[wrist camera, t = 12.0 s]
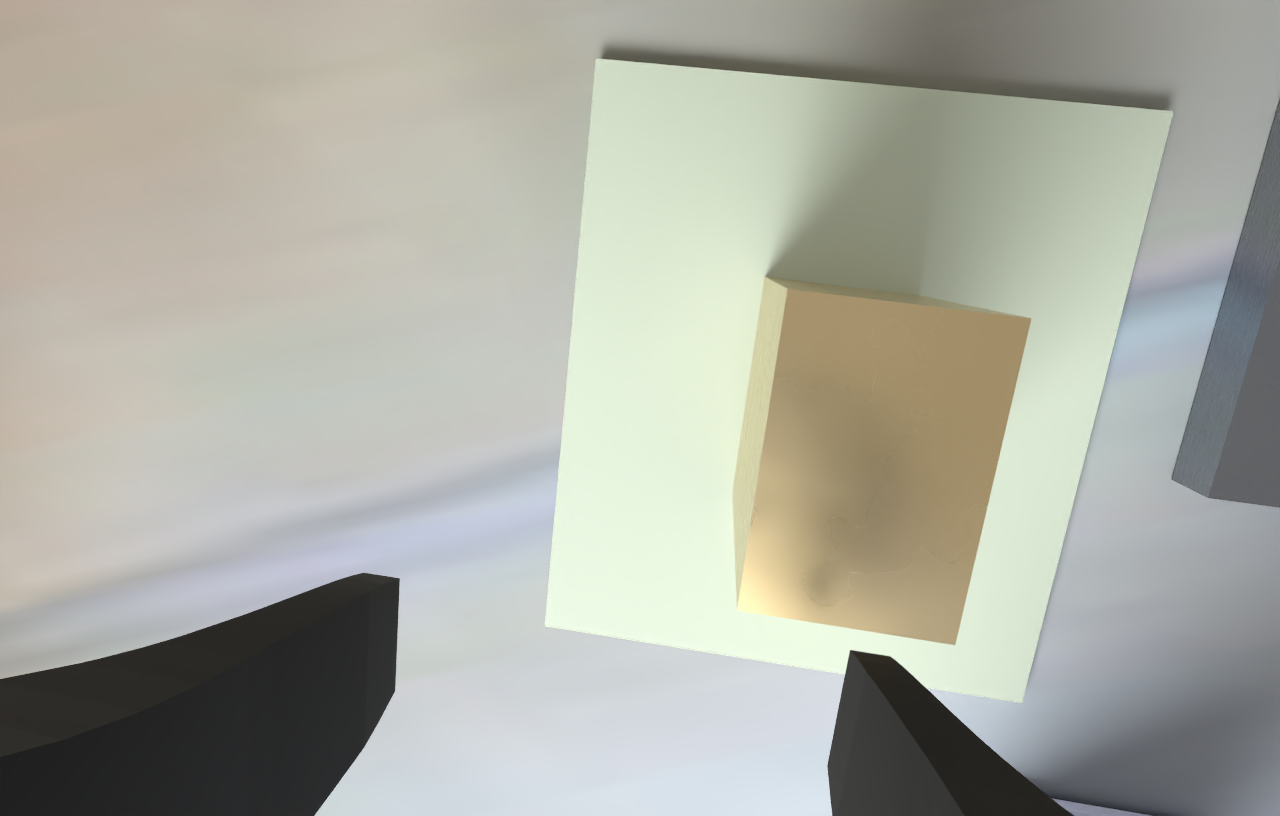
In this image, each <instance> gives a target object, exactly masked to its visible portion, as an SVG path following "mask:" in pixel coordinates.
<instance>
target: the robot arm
mask: <svg viewBox="0 0 1280 816" xmlns="http://www.w3.org/2000/svg"><path fill="white" fill-rule="evenodd" d="M399 580H400V579H399V578H393V577H387V576H380V575H374V574H368V573H361V574H357V575H353V576H350V577H346V578H343V579H340V580H337V581H334V582H331V583H329V584H326V585H323V586H320V587H318V588H315V589H312V590H310V591H307V592H304V593H302V594H299V595H296V596H294V597H291V598H288V599H286V600H283V601H280V602H278V603H275V604H272V605H270V606H267V607H264V608H262V609H259V610H256V611H254V612H251V613H248V614H245V615H242V616H239V617H236V618H233V619H231V620H228V621H225V622H222V623H219V624H216V625H213V626H210V627H207V628H204V629H201V630H198V631H195V632H192V633H189V634H186V635H183V636H180V637H177V638H174V639H170V640H167V641H164V642H160V643H157V644H153V645H150V646H146V647H143V648H139V649H136V650H132V651H128V652H124V653H120V654H116V655H112V656H108V657H105V658H101V659H97V660H92V661H88V662H84V663H79V664H74V665H69V666H64V667H59V668H54V669H49V670H44V671H39V672H34V673H29V674H24V675H19V676H14V677H9V678H4V679H0V816H314V815H315V814H316V812H317V811H318V810H319V808H320V807H321V806H322V804H323V803H324V802H325V800H326V799H327V798H328V796H329V795H330V794H331V792H332V791H333V789H334V788H335V787H336V785H337V784H338V783H339V781H340V780H341V778H342V777H343V776H344V774H345V773H346V772H347V770H348V769H349V767H350V766H351V765H352V763H353V762H354V761H355V759H356V758H357V756H358V755H359V754H360V752H361V751H362V749H363V748H364V746H365V745H366V743H367V741H368V740H369V738H370V736H371V734H372V733H373V731H374V729H375V727H376V726H377V724H378V722H379V720H380V718H381V716H382V715H383V713H384V711H385V709H386V707H387V705H388V703H389V701H390V699H391V697H392V696H393V694H394V692H395V678H396V653H397V629H398V605H399ZM828 775H829V786H830V797H831V806H832V815H833V816H1151V815H1145V814H1139V813H1134V812H1128V811H1122V810H1116V809H1110V808H1105V807H1099V806H1093V805H1087V804H1081V803H1075V802H1070V801H1064V800H1058V799H1052V798H1050V797H1049V796H1048V795H1046V794H1045V793H1044V792H1042V791H1041V790H1040V789H1039V788H1037V787H1036V786H1035V785H1034V784H1033V783H1031V782H1030V781H1029V780H1028V779H1027V778H1025V777H1024V776H1023V775H1022V774H1021V773H1019V772H1018V771H1017V770H1016V769H1014V768H1013V767H1012V766H1011V765H1010V764H1008V763H1007V762H1006V761H1005V760H1004V759H1002V758H1001V757H1000V756H999V755H998V754H997V753H996V752H994V751H993V750H992V749H991V748H990V747H989V746H988V745H986V744H985V743H984V742H983V741H982V740H981V739H980V738H979V737H978V736H976V735H975V734H974V733H973V732H972V731H971V730H970V729H969V728H968V727H967V726H966V725H964V724H963V723H962V722H961V721H960V720H959V719H958V718H957V717H956V716H955V715H954V714H953V713H952V712H951V711H949V710H948V709H947V708H946V707H945V706H944V705H943V704H942V703H941V702H940V701H939V700H938V699H937V698H936V697H935V696H934V695H933V694H932V693H931V692H929V691H928V690H927V689H926V688H925V687H924V686H923V685H922V684H921V683H920V682H919V681H918V680H917V679H916V678H915V677H914V676H913V675H912V674H911V673H909V672H908V671H907V670H906V669H905V668H904V667H903V666H902V665H901V664H899V663H898V662H897V661H896V660H895V659H893V658H892V657H891V656H885V655H879V654H873V653H867V652H860V651H854V650H850V652H849V658H848V663H847V668H846V673H845V678H844V683H843V689H842V694H841V699H840V704H839V709H838V714H837V719H836V725H835V730H834V735H833V740H832V745H831V750H830V756H829V761H828Z"/></svg>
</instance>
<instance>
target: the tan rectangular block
mask: <svg viewBox="0 0 1280 816" xmlns="http://www.w3.org/2000/svg"><path fill="white" fill-rule="evenodd" d="M1030 323H1031V318H1027V317H1023V316H1018V315H1013V314H1008V313H1003V312H998V311H993V310H989V309H984V308H979V307H974V306H969V305H964V304H959V303H955V302H950V301H945V300H940V299H935V298H930V297H925V296H921V295H913V294H905V293H896V292H888V291H880V290H871V289H863V288H854V287H846V286H838V285H829V284H821V283H813V282H804V281H796V280H788V279H779V278H771V277H765V278H764V284H763V291H762V298H761V304H760V311H759V318H758V324H757V331H756V338H755V344H754V351H753V357H752V364H751V371H750V377H749V384H748V391H747V397H746V404H745V411H744V417H743V424H742V431H741V437H740V444H739V451H738V457H737V464H736V471H735V477H734V484H733V491H732V496H733V522H734V548H735V574H736V601H737V611H743V612H750V613H756V614H762V615H768V616H775V617H781V618H787V619H794V620H800V621H806V622H812V623H819V624H825V625H831V626H838V627H844V628H850V629H856V630H863V631H869V632H875V633H881V634H888V635H894V636H900V637H907V638H913V639H919V640H925V641H932V642H938V643H944V644H951V645H955V644H956V640H957V636H958V632H959V627H960V623H961V619H962V614H963V610H964V606H965V602H966V597H967V593H968V589H969V584H970V580H971V576H972V572H973V567H974V563H975V559H976V554H977V550H978V546H979V542H980V537H981V533H982V529H983V524H984V520H985V516H986V512H987V507H988V503H989V499H990V494H991V490H992V486H993V481H994V477H995V473H996V469H997V464H998V460H999V456H1000V451H1001V447H1002V443H1003V439H1004V434H1005V430H1006V426H1007V421H1008V417H1009V413H1010V409H1011V404H1012V400H1013V396H1014V391H1015V387H1016V383H1017V379H1018V374H1019V370H1020V366H1021V361H1022V357H1023V353H1024V349H1025V344H1026V340H1027V336H1028V331H1029V327H1030Z"/></svg>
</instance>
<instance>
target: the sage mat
mask: <svg viewBox="0 0 1280 816" xmlns="http://www.w3.org/2000/svg"><path fill="white" fill-rule="evenodd" d="M1173 112H1174V111H1165V110H1154V109H1143V108H1132V107H1121V106H1110V105H1100V104H1089V103H1078V102H1067V101H1056V100H1045V99H1034V98H1023V97H1012V96H1001V95H991V94H980V93H969V92H958V91H947V90H936V89H925V88H914V87H903V86H892V85H882V84H871V83H860V82H849V81H838V80H827V79H816V78H805V77H794V76H783V75H773V74H762V73H751V72H740V71H729V70H718V69H707V68H696V67H685V66H674V65H664V64H653V63H642V62H631V61H620V60H609V59H598V58H596V62H595V74H594V85H593V96H592V107H591V118H590V129H589V140H588V151H587V162H586V173H585V184H584V195H583V207H582V218H581V229H580V240H579V251H578V262H577V273H576V284H575V295H574V306H573V317H572V328H571V340H570V351H569V362H568V373H567V384H566V395H565V406H564V417H563V428H562V439H561V450H560V461H559V473H558V484H557V495H556V506H555V517H554V528H553V539H552V550H551V561H550V572H549V583H548V594H547V606H546V617H545V626H547V627H553V628H559V629H565V630H571V631H578V632H584V633H590V634H596V635H602V636H609V637H615V638H621V639H627V640H633V641H640V642H646V643H652V644H658V645H664V646H670V647H677V648H683V649H689V650H695V651H701V652H708V653H714V654H720V655H726V656H732V657H739V658H745V659H751V660H757V661H763V662H770V663H776V664H782V665H788V666H794V667H801V668H807V669H813V670H819V671H825V672H831V673H838V674H844V675H845V673H846V668H847V663H848V658H849V652H850V650H854V651H860V652H867V653H873V654H879V655H885V656H891V657H892V658H893V659H895V660H896V661H897V662H898V663H899V664H901V665H902V666H903V667H904V668H905V669H906V670H907V671H908V672H909V673H911V674H912V675H913V676H914V677H915V678H916V679H917V680H918V681H919V682H920V683H921V684H922V685H923V686H924V687H925V688H931V689H937V690H943V691H949V692H955V693H962V694H968V695H974V696H980V697H986V698H993V699H999V700H1005V701H1011V702H1017V703H1022V701H1023V698H1024V694H1025V690H1026V686H1027V682H1028V678H1029V674H1030V670H1031V666H1032V662H1033V658H1034V655H1035V651H1036V647H1037V643H1038V639H1039V635H1040V631H1041V627H1042V623H1043V619H1044V616H1045V612H1046V608H1047V604H1048V600H1049V596H1050V592H1051V588H1052V584H1053V580H1054V577H1055V573H1056V569H1057V565H1058V561H1059V557H1060V553H1061V549H1062V545H1063V541H1064V538H1065V534H1066V530H1067V526H1068V522H1069V518H1070V514H1071V510H1072V506H1073V502H1074V498H1075V495H1076V491H1077V487H1078V483H1079V479H1080V475H1081V471H1082V467H1083V463H1084V459H1085V456H1086V452H1087V448H1088V444H1089V440H1090V436H1091V432H1092V428H1093V424H1094V420H1095V417H1096V413H1097V409H1098V405H1099V401H1100V397H1101V393H1102V389H1103V385H1104V381H1105V378H1106V374H1107V370H1108V366H1109V362H1110V358H1111V354H1112V350H1113V346H1114V342H1115V338H1116V335H1117V331H1118V327H1119V323H1120V319H1121V315H1122V311H1123V307H1124V303H1125V299H1126V296H1127V292H1128V288H1129V284H1130V280H1131V276H1132V272H1133V268H1134V264H1135V260H1136V257H1137V253H1138V249H1139V245H1140V241H1141V237H1142V233H1143V229H1144V225H1145V221H1146V217H1147V214H1148V210H1149V206H1150V202H1151V198H1152V194H1153V190H1154V186H1155V182H1156V178H1157V175H1158V171H1159V167H1160V163H1161V159H1162V155H1163V151H1164V147H1165V143H1166V139H1167V136H1168V132H1169V128H1170V124H1171V120H1172V116H1173ZM765 277H771V278H779V279H788V280H796V281H804V282H813V283H821V284H829V285H838V286H846V287H854V288H863V289H871V290H880V291H888V292H896V293H905V294H913V295H921V296H925V297H930V298H935V299H940V300H945V301H950V302H955V303H959V304H964V305H969V306H974V307H979V308H984V309H989V310H993V311H998V312H1003V313H1008V314H1013V315H1018V316H1023V317H1027V318H1031V323H1030V327H1029V331H1028V336H1027V340H1026V344H1025V349H1024V353H1023V357H1022V361H1021V366H1020V370H1019V374H1018V379H1017V383H1016V387H1015V391H1014V396H1013V400H1012V404H1011V409H1010V413H1009V417H1008V421H1007V426H1006V430H1005V434H1004V439H1003V443H1002V447H1001V451H1000V456H999V460H998V464H997V469H996V473H995V477H994V481H993V486H992V490H991V494H990V499H989V503H988V507H987V512H986V516H985V520H984V524H983V529H982V533H981V537H980V542H979V546H978V550H977V554H976V559H975V563H974V567H973V572H972V576H971V580H970V584H969V589H968V593H967V597H966V602H965V606H964V610H963V614H962V619H961V623H960V627H959V632H958V636H957V640H956V644H955V645H951V644H944V643H938V642H932V641H925V640H919V639H913V638H907V637H900V636H894V635H888V634H881V633H875V632H869V631H863V630H856V629H850V628H844V627H838V626H831V625H825V624H819V623H812V622H806V621H800V620H794V619H787V618H781V617H775V616H768V615H762V614H756V613H750V612H743V611H737V601H736V574H735V548H734V522H733V496H732V491H733V484H734V477H735V471H736V464H737V457H738V451H739V444H740V437H741V431H742V424H743V417H744V411H745V404H746V397H747V391H748V384H749V377H750V371H751V364H752V357H753V351H754V344H755V338H756V331H757V324H758V318H759V311H760V304H761V298H762V291H763V284H764V278H765Z"/></svg>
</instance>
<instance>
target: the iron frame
mask: <svg viewBox="0 0 1280 816" xmlns="http://www.w3.org/2000/svg"><path fill="white" fill-rule="evenodd" d="M1172 480H1174V481H1176V482H1178V483H1180V484H1182V485H1184V486H1186V487H1188V488H1190V489H1192V490H1194V491H1196V492H1198V493H1200V494H1202V495H1204V496H1206V497H1208V498H1213V499H1221V500H1228V501H1236V502H1243V503H1250V504H1258V505H1265V506H1273V507H1280V102H1279V105H1278V109H1277V112H1276V116H1275V119H1274V123H1273V126H1272V130H1271V133H1270V137H1269V140H1268V144H1267V147H1266V151H1265V154H1264V158H1263V161H1262V165H1261V168H1260V172H1259V175H1258V179H1257V182H1256V186H1255V189H1254V193H1253V196H1252V200H1251V203H1250V207H1249V210H1248V214H1247V217H1246V221H1245V224H1244V228H1243V231H1242V235H1241V238H1240V242H1239V245H1238V249H1237V252H1236V256H1235V259H1234V263H1233V266H1232V270H1231V273H1230V277H1229V280H1228V284H1227V287H1226V291H1225V294H1224V298H1223V301H1222V305H1221V308H1220V312H1219V315H1218V319H1217V322H1216V326H1215V329H1214V333H1213V336H1212V340H1211V343H1210V347H1209V350H1208V354H1207V357H1206V361H1205V364H1204V368H1203V371H1202V375H1201V378H1200V382H1199V385H1198V389H1197V392H1196V396H1195V399H1194V403H1193V406H1192V410H1191V413H1190V417H1189V420H1188V424H1187V427H1186V431H1185V434H1184V438H1183V441H1182V445H1181V448H1180V452H1179V455H1178V459H1177V462H1176V466H1175V469H1174V473H1173V476H1172Z"/></svg>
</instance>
